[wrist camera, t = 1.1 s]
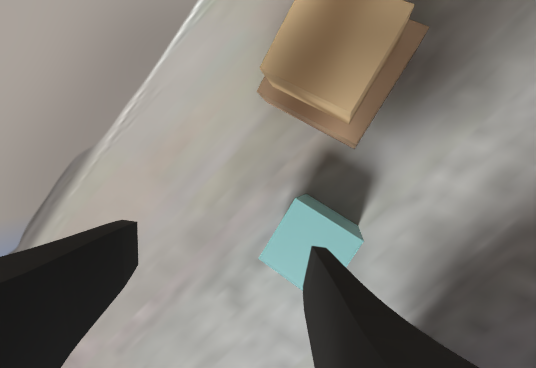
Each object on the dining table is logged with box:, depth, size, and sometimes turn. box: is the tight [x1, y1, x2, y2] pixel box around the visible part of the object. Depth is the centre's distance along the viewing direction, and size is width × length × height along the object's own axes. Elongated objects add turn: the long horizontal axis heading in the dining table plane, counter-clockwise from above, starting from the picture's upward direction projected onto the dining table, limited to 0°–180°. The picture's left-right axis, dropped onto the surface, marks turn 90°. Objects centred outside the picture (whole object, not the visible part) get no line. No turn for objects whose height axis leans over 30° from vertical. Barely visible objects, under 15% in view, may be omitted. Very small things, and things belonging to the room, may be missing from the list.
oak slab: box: [260, 0, 415, 125], centre depth 15 cm, size 6×6×3 cm
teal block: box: [259, 194, 364, 291], centre depth 17 cm, size 4×4×5 cm
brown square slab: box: [257, 19, 429, 149], centre depth 18 cm, size 8×8×3 cm
